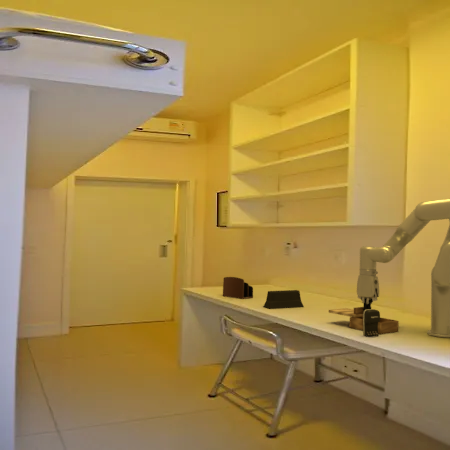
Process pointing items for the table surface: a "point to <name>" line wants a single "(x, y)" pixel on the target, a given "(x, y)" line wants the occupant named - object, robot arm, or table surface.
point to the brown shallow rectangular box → (383, 326)
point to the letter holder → (236, 288)
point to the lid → (349, 312)
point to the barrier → (283, 299)
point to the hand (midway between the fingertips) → (367, 312)
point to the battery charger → (371, 322)
